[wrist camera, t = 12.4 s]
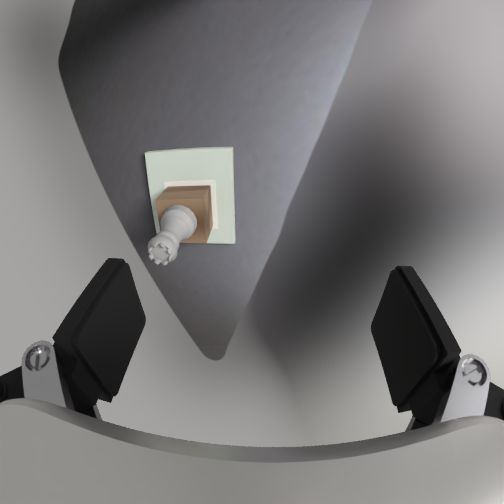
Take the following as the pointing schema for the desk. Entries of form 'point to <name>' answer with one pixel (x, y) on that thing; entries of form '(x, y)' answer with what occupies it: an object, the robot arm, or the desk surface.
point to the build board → (197, 182)
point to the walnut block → (196, 202)
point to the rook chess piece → (172, 234)
